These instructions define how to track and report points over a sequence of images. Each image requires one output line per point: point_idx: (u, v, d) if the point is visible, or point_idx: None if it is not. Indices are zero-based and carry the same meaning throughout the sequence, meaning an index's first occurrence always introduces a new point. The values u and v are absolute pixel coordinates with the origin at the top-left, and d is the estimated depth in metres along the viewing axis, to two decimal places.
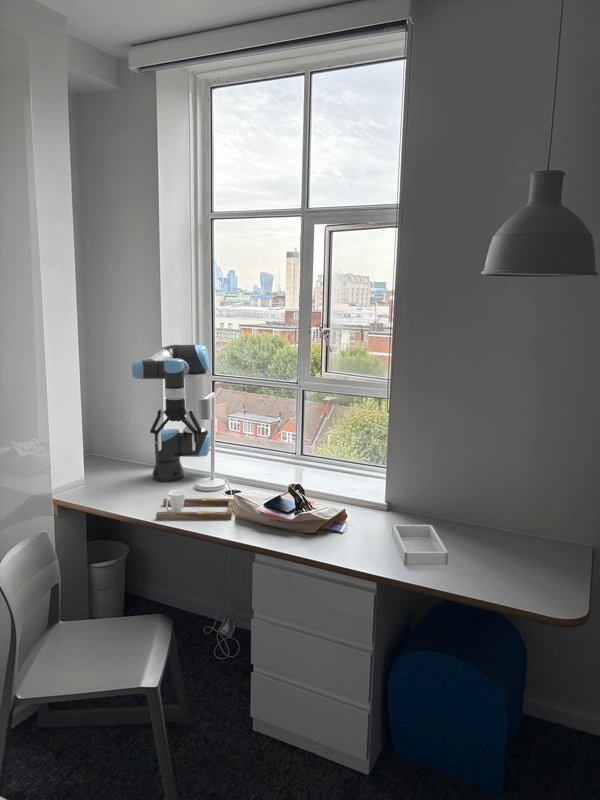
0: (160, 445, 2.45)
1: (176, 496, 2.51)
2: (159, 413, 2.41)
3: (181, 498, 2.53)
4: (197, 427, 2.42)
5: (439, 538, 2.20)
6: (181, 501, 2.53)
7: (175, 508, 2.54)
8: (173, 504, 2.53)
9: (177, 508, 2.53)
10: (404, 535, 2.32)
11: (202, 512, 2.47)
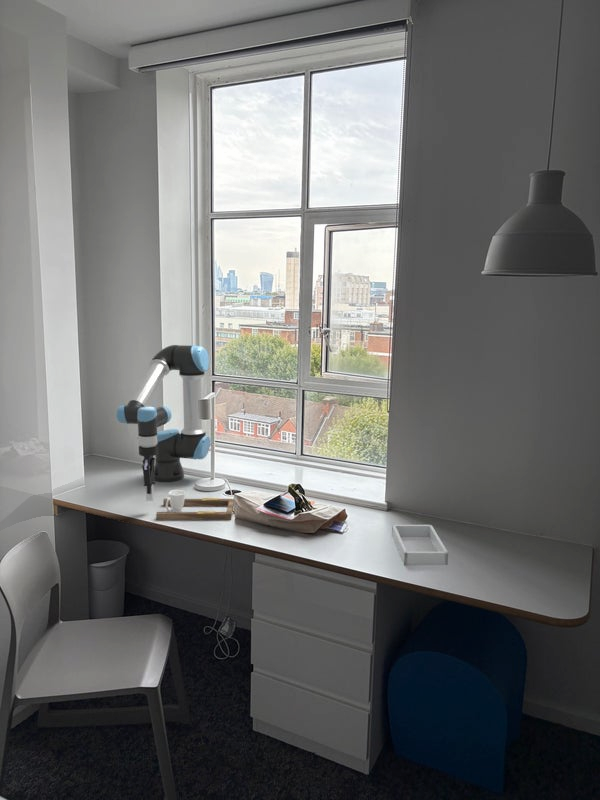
0: None
1: (176, 496, 2.51)
2: None
3: (181, 498, 2.53)
4: None
5: (439, 538, 2.20)
6: (181, 501, 2.53)
7: (175, 508, 2.54)
8: (173, 504, 2.53)
9: (177, 508, 2.53)
10: (404, 535, 2.32)
11: (202, 512, 2.47)
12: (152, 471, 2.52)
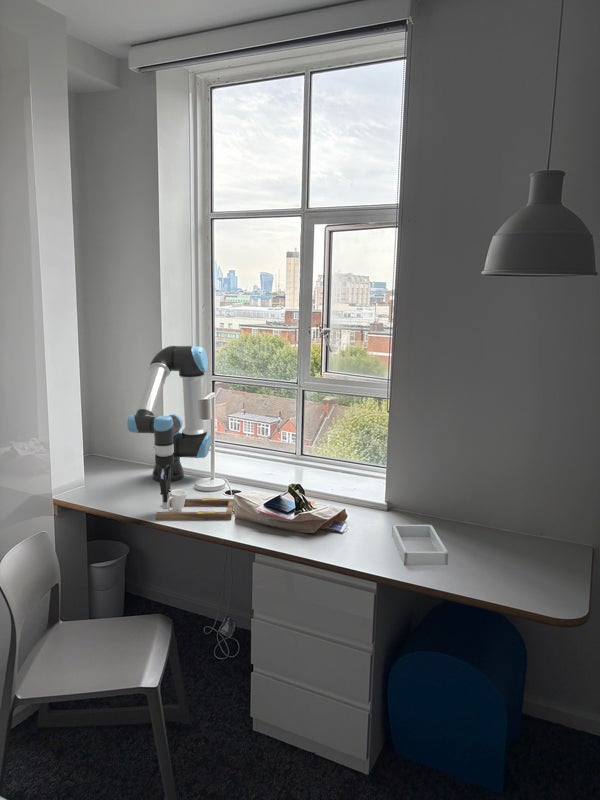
0: None
1: (177, 496, 2.51)
2: None
3: (182, 498, 2.53)
4: None
5: (439, 538, 2.20)
6: (182, 501, 2.53)
7: (175, 508, 2.54)
8: (174, 504, 2.53)
9: (177, 508, 2.53)
10: (404, 535, 2.32)
11: (202, 512, 2.47)
12: (168, 480, 2.53)
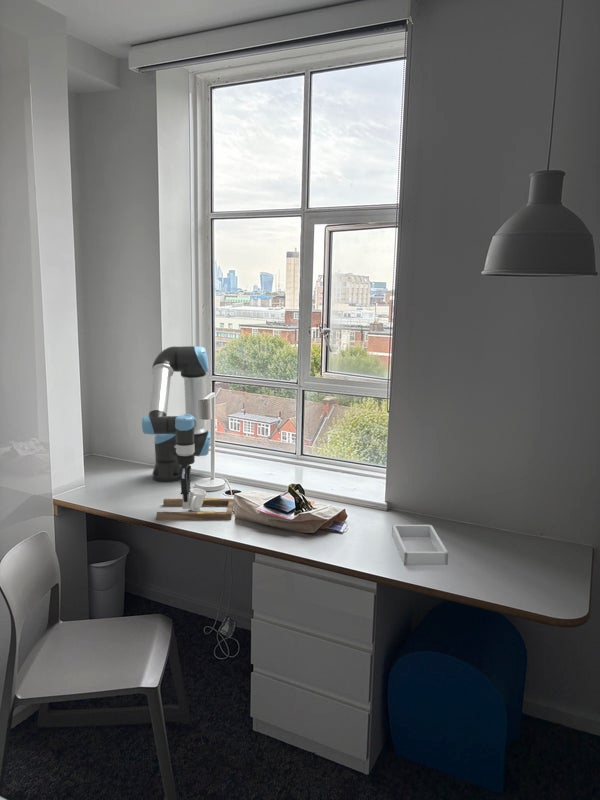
0: None
1: (200, 495, 2.53)
2: None
3: (203, 497, 2.55)
4: None
5: (439, 538, 2.20)
6: (202, 500, 2.55)
7: (196, 507, 2.54)
8: (195, 503, 2.53)
9: (197, 507, 2.55)
10: (404, 535, 2.32)
11: (202, 512, 2.47)
12: (189, 479, 2.53)
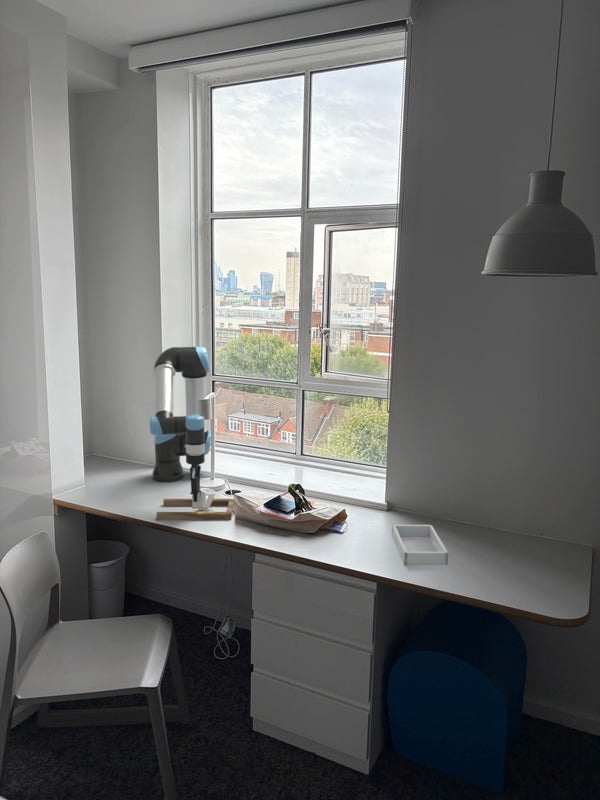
0: None
1: (212, 494, 2.54)
2: None
3: (213, 496, 2.56)
4: None
5: (439, 538, 2.20)
6: (212, 499, 2.56)
7: (206, 506, 2.55)
8: (206, 502, 2.54)
9: (207, 506, 2.55)
10: (404, 535, 2.32)
11: (202, 512, 2.47)
12: (198, 479, 2.53)
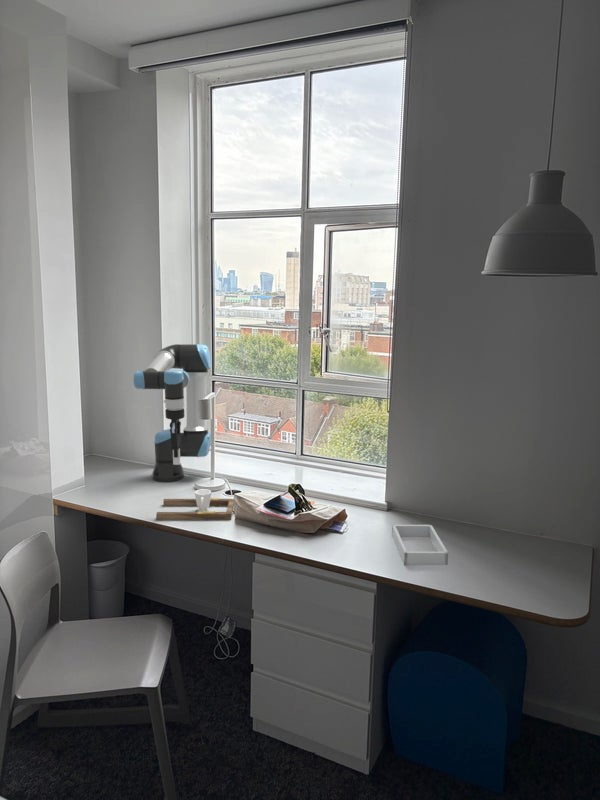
0: None
1: (207, 495, 2.53)
2: None
3: (210, 496, 2.56)
4: None
5: (439, 538, 2.20)
6: (209, 499, 2.56)
7: (205, 507, 2.55)
8: (203, 503, 2.54)
9: (206, 507, 2.55)
10: (404, 535, 2.32)
11: (202, 512, 2.47)
12: (179, 435, 2.51)
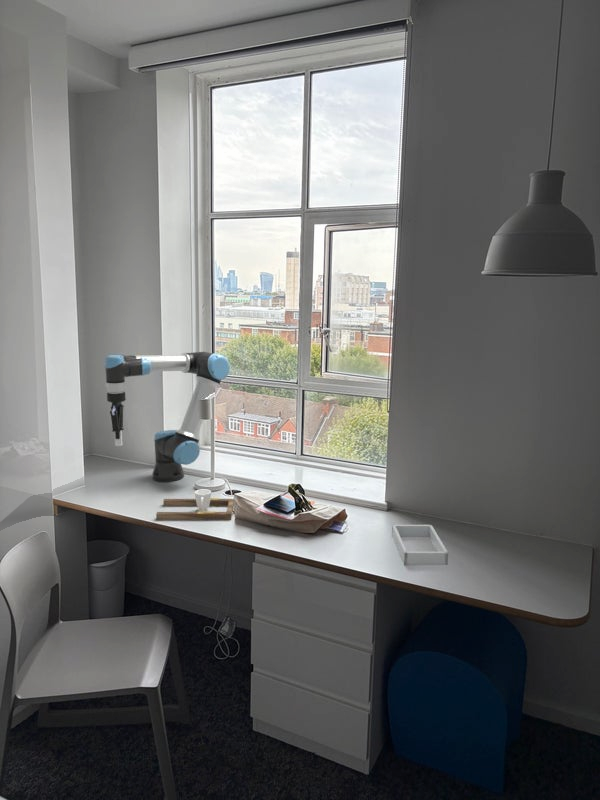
0: None
1: (207, 495, 2.53)
2: None
3: (210, 496, 2.56)
4: None
5: (439, 538, 2.20)
6: (209, 499, 2.56)
7: (205, 507, 2.55)
8: (203, 503, 2.54)
9: (206, 507, 2.55)
10: (404, 535, 2.32)
11: (202, 512, 2.47)
12: (120, 417, 2.63)
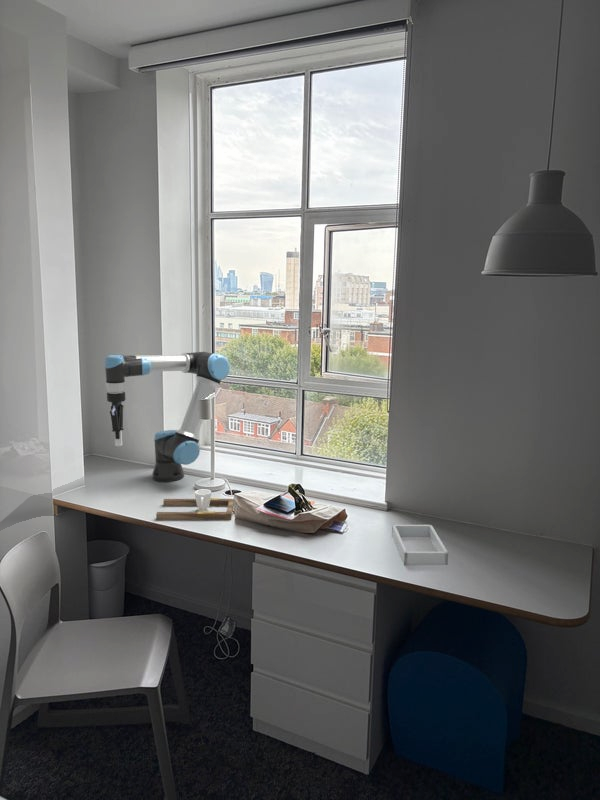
0: None
1: (207, 495, 2.53)
2: None
3: (210, 496, 2.56)
4: None
5: (439, 538, 2.20)
6: (209, 499, 2.56)
7: (205, 507, 2.55)
8: (203, 503, 2.54)
9: (206, 507, 2.55)
10: (404, 535, 2.32)
11: (202, 512, 2.47)
12: (120, 417, 2.63)
